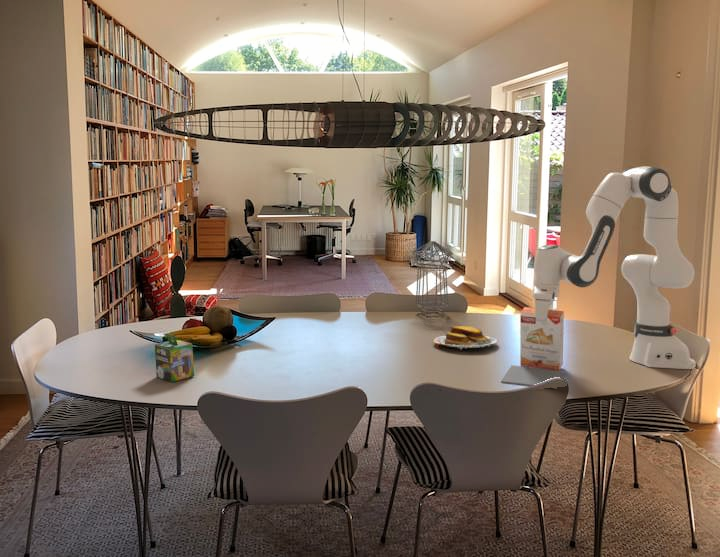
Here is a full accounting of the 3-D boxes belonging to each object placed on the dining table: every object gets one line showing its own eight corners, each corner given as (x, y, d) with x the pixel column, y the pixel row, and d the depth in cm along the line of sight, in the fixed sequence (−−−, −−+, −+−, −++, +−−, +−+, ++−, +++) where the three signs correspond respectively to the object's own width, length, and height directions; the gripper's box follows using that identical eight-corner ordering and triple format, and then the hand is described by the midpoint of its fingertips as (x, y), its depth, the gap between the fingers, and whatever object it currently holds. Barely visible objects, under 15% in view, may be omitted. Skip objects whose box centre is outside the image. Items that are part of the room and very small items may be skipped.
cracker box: (519, 366, 259) (519, 312, 252) (524, 359, 264) (524, 306, 257) (559, 372, 252) (560, 316, 245) (563, 364, 257) (564, 310, 250)
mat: (563, 372, 252) (563, 371, 251) (557, 389, 233) (557, 387, 233) (511, 366, 258) (511, 365, 258) (501, 382, 240) (501, 381, 239)
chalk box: (194, 377, 242) (193, 333, 240) (171, 383, 235) (169, 338, 233) (178, 371, 248) (177, 329, 246) (155, 377, 242) (153, 334, 239)
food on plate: (432, 352, 277) (432, 336, 276) (433, 337, 301) (433, 321, 300) (499, 355, 274) (500, 338, 273) (495, 339, 298) (496, 323, 297)
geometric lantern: (422, 318, 333) (422, 243, 328) (410, 312, 348) (410, 240, 343) (454, 316, 337) (454, 241, 332) (441, 310, 352) (442, 239, 347)
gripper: (540, 285, 266) (538, 322, 269) (532, 294, 248) (530, 334, 250) (558, 286, 264) (556, 323, 266) (551, 296, 245) (549, 336, 248)
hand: (543, 329), depth 258 cm, fingers closed
